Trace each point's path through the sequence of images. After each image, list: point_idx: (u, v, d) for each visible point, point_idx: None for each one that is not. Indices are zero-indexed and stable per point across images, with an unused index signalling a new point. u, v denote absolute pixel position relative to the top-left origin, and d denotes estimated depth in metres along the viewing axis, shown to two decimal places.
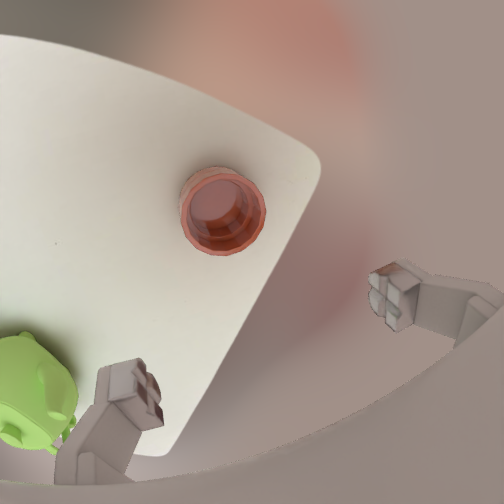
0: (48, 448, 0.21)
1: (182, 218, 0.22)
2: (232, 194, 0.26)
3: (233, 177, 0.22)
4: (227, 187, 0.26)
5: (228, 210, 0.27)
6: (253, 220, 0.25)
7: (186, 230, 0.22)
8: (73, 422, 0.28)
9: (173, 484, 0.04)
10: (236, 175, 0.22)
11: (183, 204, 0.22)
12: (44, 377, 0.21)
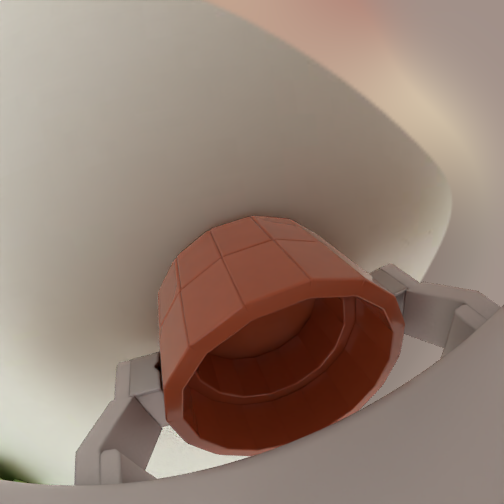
0: None
1: (169, 415, 0.06)
2: None
3: (347, 289, 0.06)
4: None
5: (282, 319, 0.11)
6: (353, 359, 0.09)
7: (185, 434, 0.06)
8: None
9: (173, 484, 0.04)
10: (357, 281, 0.06)
11: (166, 384, 0.06)
12: None
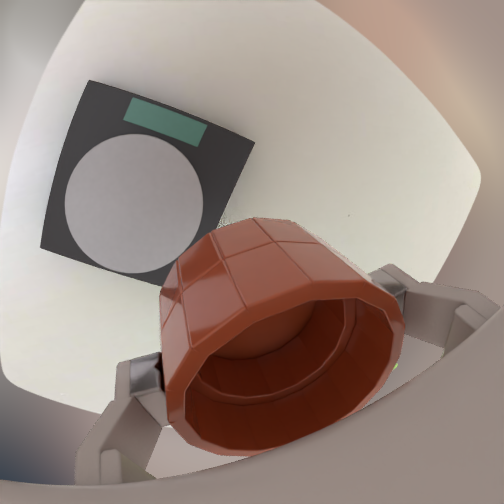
0: None
1: (171, 416, 0.06)
2: None
3: (348, 291, 0.06)
4: None
5: (283, 320, 0.11)
6: (353, 360, 0.09)
7: (187, 434, 0.06)
8: None
9: (173, 484, 0.04)
10: (358, 283, 0.06)
11: (168, 386, 0.06)
12: None
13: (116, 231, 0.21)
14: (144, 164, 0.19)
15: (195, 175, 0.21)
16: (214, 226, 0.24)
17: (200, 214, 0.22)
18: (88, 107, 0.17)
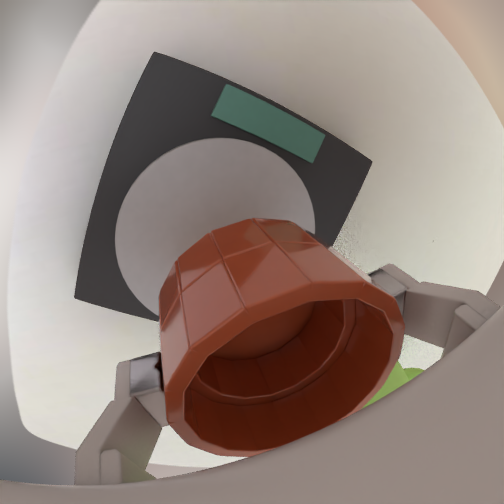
0: None
1: (170, 416, 0.06)
2: None
3: (347, 292, 0.06)
4: None
5: (283, 320, 0.11)
6: (353, 361, 0.09)
7: (186, 435, 0.06)
8: None
9: (173, 484, 0.04)
10: (357, 284, 0.06)
11: (168, 386, 0.06)
12: None
13: None
14: (243, 184, 0.14)
15: (309, 202, 0.16)
16: None
17: None
18: (153, 92, 0.12)
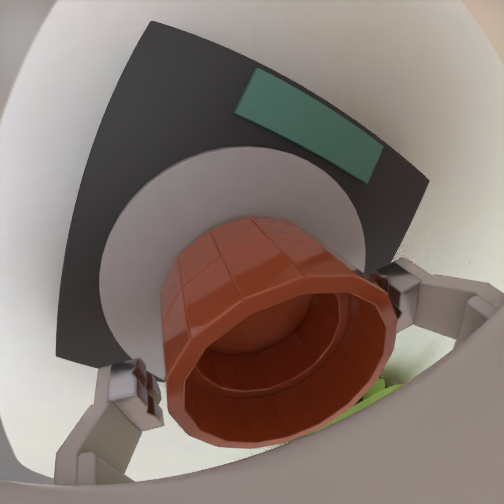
0: None
1: (171, 406, 0.06)
2: None
3: (339, 286, 0.06)
4: None
5: (280, 316, 0.11)
6: (348, 355, 0.10)
7: (187, 425, 0.07)
8: None
9: (173, 484, 0.04)
10: (349, 278, 0.06)
11: (169, 376, 0.06)
12: None
13: None
14: (280, 214, 0.10)
15: (361, 235, 0.12)
16: None
17: None
18: (149, 78, 0.08)
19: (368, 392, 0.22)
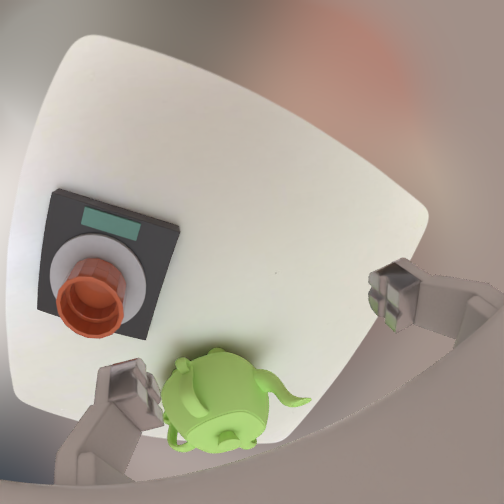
0: (245, 444, 0.33)
1: (58, 311, 0.22)
2: None
3: (87, 279, 0.22)
4: None
5: (108, 293, 0.28)
6: None
7: (63, 319, 0.23)
8: None
9: (173, 484, 0.04)
10: (89, 277, 0.22)
11: (56, 300, 0.22)
12: (270, 379, 0.33)
13: None
14: (100, 256, 0.26)
15: (137, 262, 0.28)
16: (157, 294, 0.30)
17: (144, 288, 0.29)
18: (55, 214, 0.24)
19: None
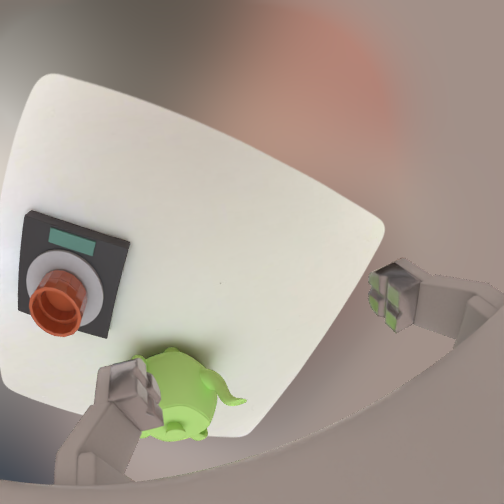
0: (195, 435, 0.37)
1: (31, 314, 0.26)
2: None
3: (51, 289, 0.26)
4: None
5: None
6: None
7: (35, 320, 0.26)
8: None
9: (173, 484, 0.04)
10: (52, 288, 0.26)
11: (29, 305, 0.25)
12: (213, 378, 0.37)
13: None
14: (64, 268, 0.30)
15: (94, 273, 0.31)
16: (113, 300, 0.34)
17: (101, 295, 0.32)
18: (28, 233, 0.27)
19: None
